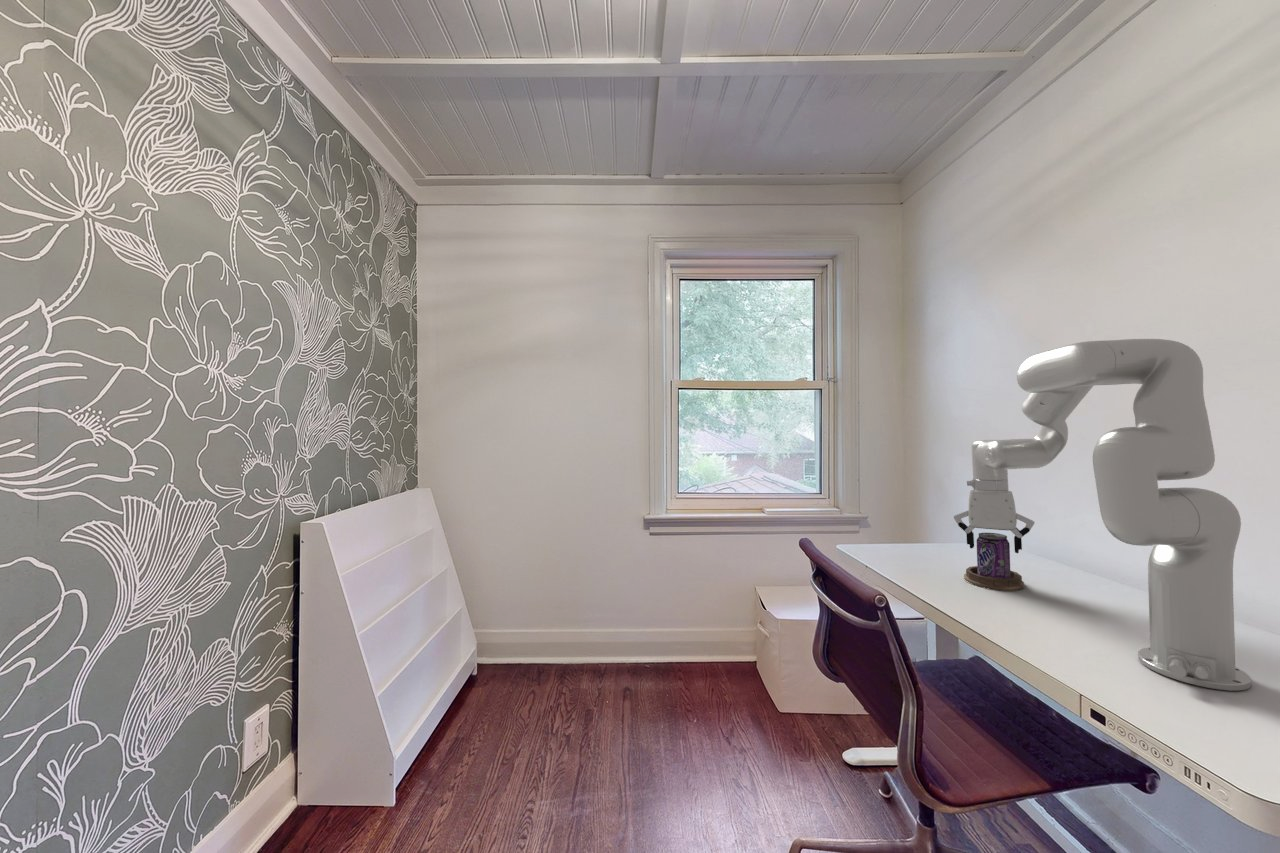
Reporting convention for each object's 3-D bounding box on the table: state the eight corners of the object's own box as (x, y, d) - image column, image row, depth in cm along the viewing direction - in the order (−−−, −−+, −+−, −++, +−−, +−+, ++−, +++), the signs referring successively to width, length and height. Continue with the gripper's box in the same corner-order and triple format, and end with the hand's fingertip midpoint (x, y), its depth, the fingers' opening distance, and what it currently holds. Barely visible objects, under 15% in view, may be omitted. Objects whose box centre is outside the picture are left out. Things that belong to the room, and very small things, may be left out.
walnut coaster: (1017, 594, 117) (1017, 584, 117) (957, 582, 127) (956, 572, 127) (1030, 582, 125) (1029, 572, 125) (972, 571, 135) (972, 562, 135)
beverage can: (971, 575, 130) (970, 532, 130) (999, 575, 129) (998, 531, 129) (988, 584, 123) (986, 538, 123) (1017, 584, 122) (1015, 538, 122)
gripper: (950, 486, 129) (953, 548, 128) (1032, 488, 117) (1035, 557, 117) (954, 483, 134) (957, 543, 134) (1032, 485, 123) (1036, 551, 123)
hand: (993, 549), depth 126 cm, fingers open, 9 cm apart
